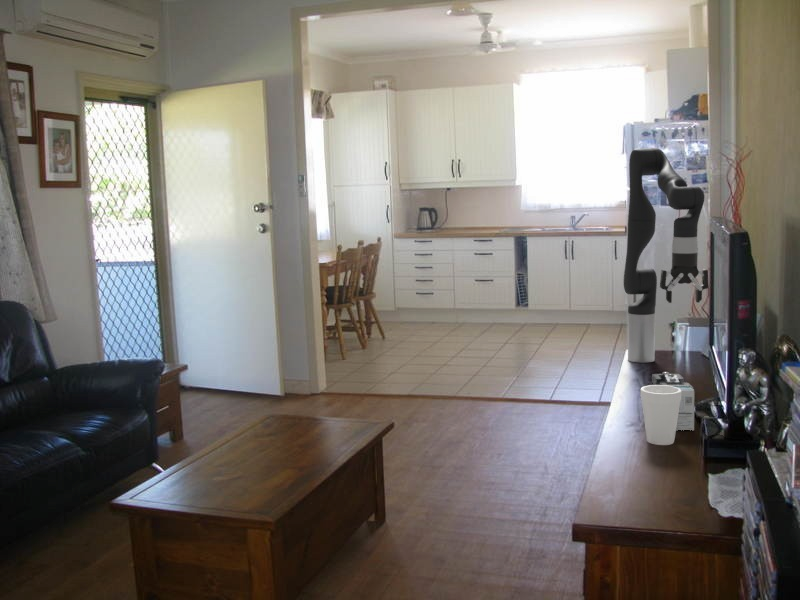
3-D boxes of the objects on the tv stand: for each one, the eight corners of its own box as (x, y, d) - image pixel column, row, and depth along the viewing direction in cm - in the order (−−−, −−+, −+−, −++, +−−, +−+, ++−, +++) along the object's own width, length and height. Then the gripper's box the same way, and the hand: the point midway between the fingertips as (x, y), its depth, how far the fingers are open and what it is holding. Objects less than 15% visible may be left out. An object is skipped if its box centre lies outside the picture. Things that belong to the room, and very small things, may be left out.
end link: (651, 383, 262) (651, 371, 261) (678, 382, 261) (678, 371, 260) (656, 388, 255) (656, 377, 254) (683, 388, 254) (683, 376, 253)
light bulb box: (688, 423, 216) (689, 383, 215) (695, 431, 209) (695, 389, 208) (646, 424, 217) (647, 384, 216) (652, 431, 210) (652, 390, 209)
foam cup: (675, 449, 195) (675, 395, 194) (636, 444, 200) (636, 391, 199) (684, 438, 203) (684, 387, 202) (646, 433, 208) (646, 383, 207)
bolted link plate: (664, 387, 257) (664, 372, 256) (675, 387, 256) (676, 373, 256) (667, 394, 247) (667, 380, 247) (679, 395, 247) (679, 380, 246)
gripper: (705, 249, 260) (704, 300, 262) (659, 250, 261) (658, 300, 264) (711, 252, 252) (710, 304, 255) (663, 252, 254) (662, 304, 257)
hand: (683, 302), depth 260 cm, fingers open, 8 cm apart
